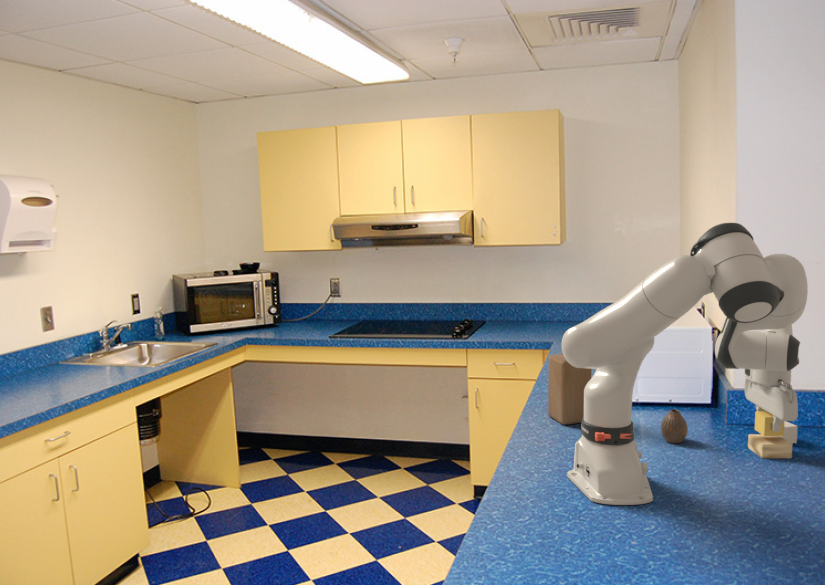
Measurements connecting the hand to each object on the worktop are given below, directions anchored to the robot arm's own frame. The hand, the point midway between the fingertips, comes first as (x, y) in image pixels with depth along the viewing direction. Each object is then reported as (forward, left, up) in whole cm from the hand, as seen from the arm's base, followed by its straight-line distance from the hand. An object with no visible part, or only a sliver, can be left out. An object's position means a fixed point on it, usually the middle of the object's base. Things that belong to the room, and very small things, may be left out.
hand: (768, 426), depth 168 cm
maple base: (0, 0, -7) cm, 7 cm away
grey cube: (+8, -8, -7) cm, 13 cm away
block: (+29, +46, -7) cm, 55 cm away
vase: (+9, +21, -7) cm, 24 cm away
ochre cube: (0, 0, -2) cm, 2 cm away
